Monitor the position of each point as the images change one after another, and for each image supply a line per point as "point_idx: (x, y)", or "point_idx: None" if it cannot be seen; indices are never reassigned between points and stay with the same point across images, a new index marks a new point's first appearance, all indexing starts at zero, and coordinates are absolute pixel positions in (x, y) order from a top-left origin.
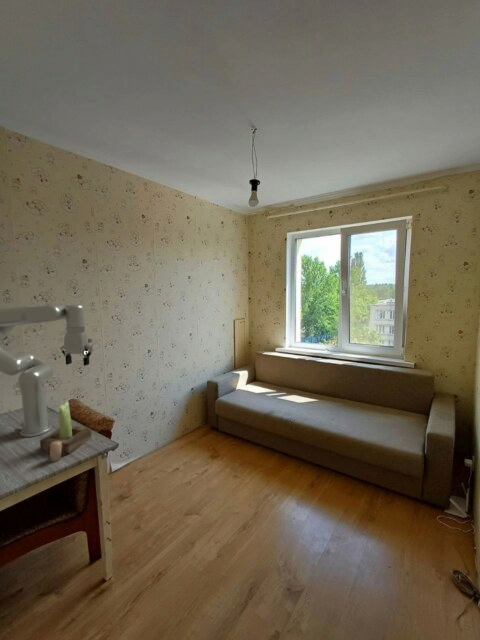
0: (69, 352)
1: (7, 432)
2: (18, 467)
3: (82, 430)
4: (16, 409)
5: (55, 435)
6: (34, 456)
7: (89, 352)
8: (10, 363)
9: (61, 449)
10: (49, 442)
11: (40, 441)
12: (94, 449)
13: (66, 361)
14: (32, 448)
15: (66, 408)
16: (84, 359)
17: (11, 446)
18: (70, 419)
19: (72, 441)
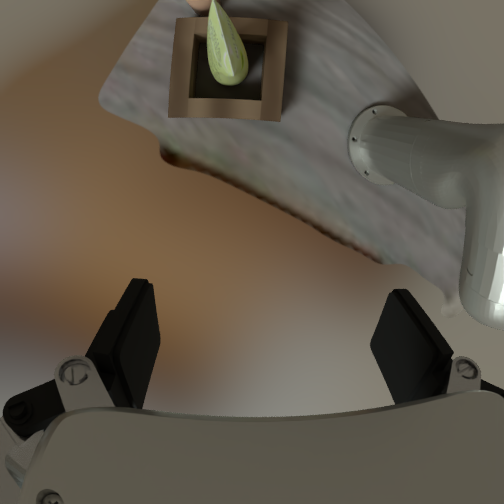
0: (419, 419)
1: None
2: None
3: (185, 94)
4: None
5: (264, 58)
6: (280, 10)
7: (4, 420)
8: None
9: (189, 4)
10: (250, 18)
11: (286, 22)
12: (129, 66)
13: (414, 309)
14: (319, 44)
15: (215, 45)
16: (103, 333)
17: (385, 58)
18: (212, 68)
19: (175, 32)
